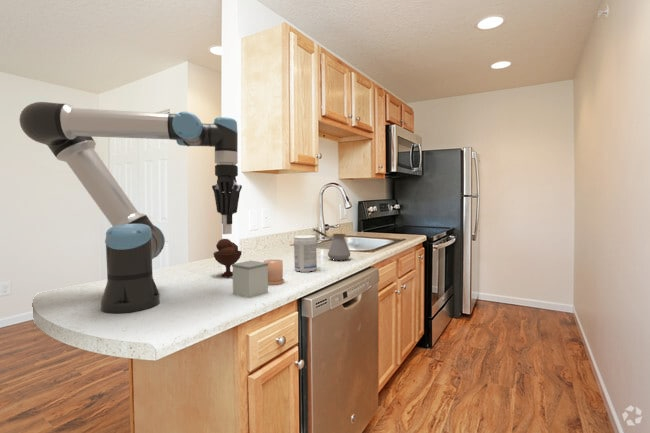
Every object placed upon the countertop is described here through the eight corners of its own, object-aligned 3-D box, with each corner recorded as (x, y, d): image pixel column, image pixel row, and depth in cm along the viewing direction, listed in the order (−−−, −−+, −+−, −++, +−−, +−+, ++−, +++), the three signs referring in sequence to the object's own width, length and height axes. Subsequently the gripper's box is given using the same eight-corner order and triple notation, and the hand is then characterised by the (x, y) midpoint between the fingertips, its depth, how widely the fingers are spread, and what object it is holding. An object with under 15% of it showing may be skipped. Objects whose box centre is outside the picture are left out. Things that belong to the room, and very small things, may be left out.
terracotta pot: (273, 286, 126) (273, 264, 126) (258, 283, 131) (257, 261, 130) (288, 282, 133) (288, 260, 132) (273, 279, 137) (272, 258, 137)
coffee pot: (354, 258, 181) (354, 229, 180) (344, 262, 171) (344, 231, 170) (317, 255, 191) (317, 227, 191) (306, 258, 181) (306, 229, 180)
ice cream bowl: (235, 279, 137) (234, 240, 136) (208, 277, 139) (207, 239, 139) (246, 273, 148) (246, 237, 147) (221, 272, 150) (221, 236, 149)
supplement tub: (318, 268, 157) (318, 235, 157) (314, 273, 148) (313, 237, 147) (297, 267, 159) (297, 234, 158) (291, 272, 150) (291, 237, 149)
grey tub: (249, 298, 112) (248, 267, 111) (232, 293, 117) (231, 264, 116) (268, 292, 119) (268, 263, 118) (251, 288, 124) (251, 260, 123)
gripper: (247, 164, 120) (248, 234, 122) (223, 166, 128) (223, 231, 129) (230, 162, 114) (230, 236, 116) (205, 164, 122) (206, 233, 123)
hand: (227, 233), depth 122 cm, fingers closed
